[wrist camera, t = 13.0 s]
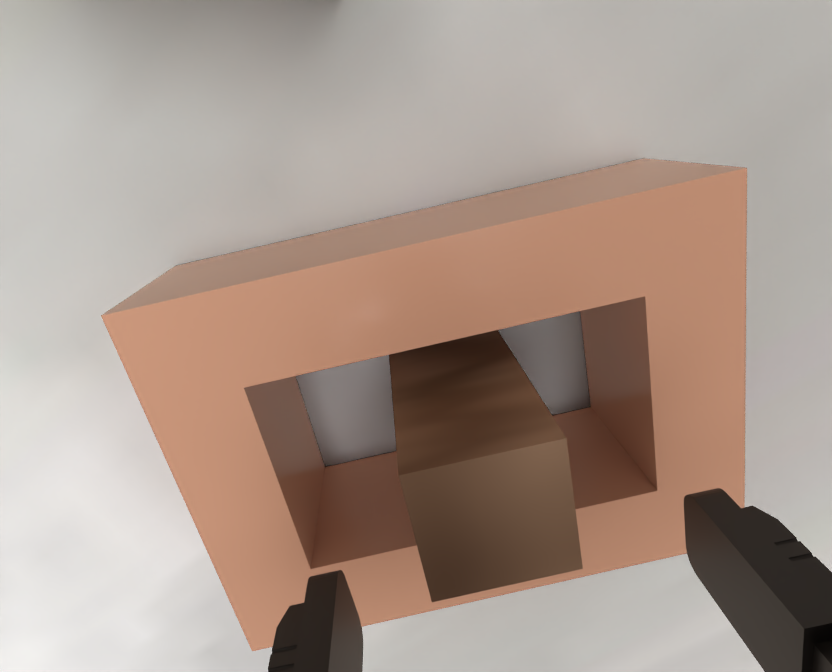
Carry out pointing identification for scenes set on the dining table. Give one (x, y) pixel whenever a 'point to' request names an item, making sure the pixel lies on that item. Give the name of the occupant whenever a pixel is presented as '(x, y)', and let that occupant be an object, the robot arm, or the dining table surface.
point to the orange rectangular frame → (440, 322)
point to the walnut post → (481, 468)
